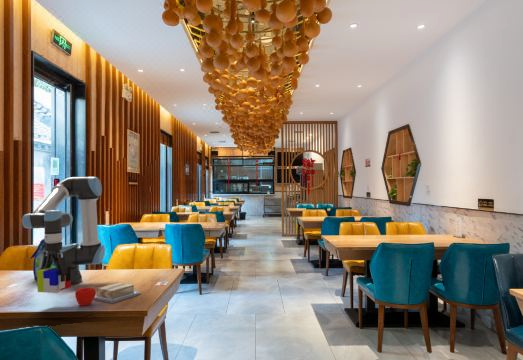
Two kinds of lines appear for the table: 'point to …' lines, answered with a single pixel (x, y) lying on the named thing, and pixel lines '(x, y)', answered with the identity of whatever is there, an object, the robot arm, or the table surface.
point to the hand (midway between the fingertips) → (54, 286)
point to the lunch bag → (39, 258)
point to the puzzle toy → (51, 280)
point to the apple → (85, 296)
